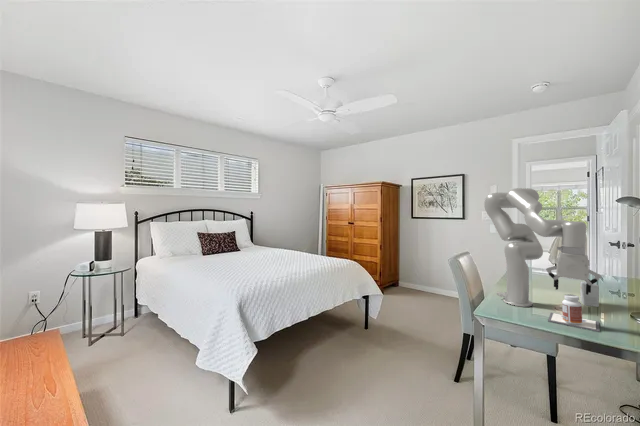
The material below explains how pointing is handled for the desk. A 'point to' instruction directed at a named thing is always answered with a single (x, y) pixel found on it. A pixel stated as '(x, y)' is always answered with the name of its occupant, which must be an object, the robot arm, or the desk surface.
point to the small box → (589, 295)
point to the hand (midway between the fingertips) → (571, 291)
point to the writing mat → (585, 324)
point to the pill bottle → (572, 309)
